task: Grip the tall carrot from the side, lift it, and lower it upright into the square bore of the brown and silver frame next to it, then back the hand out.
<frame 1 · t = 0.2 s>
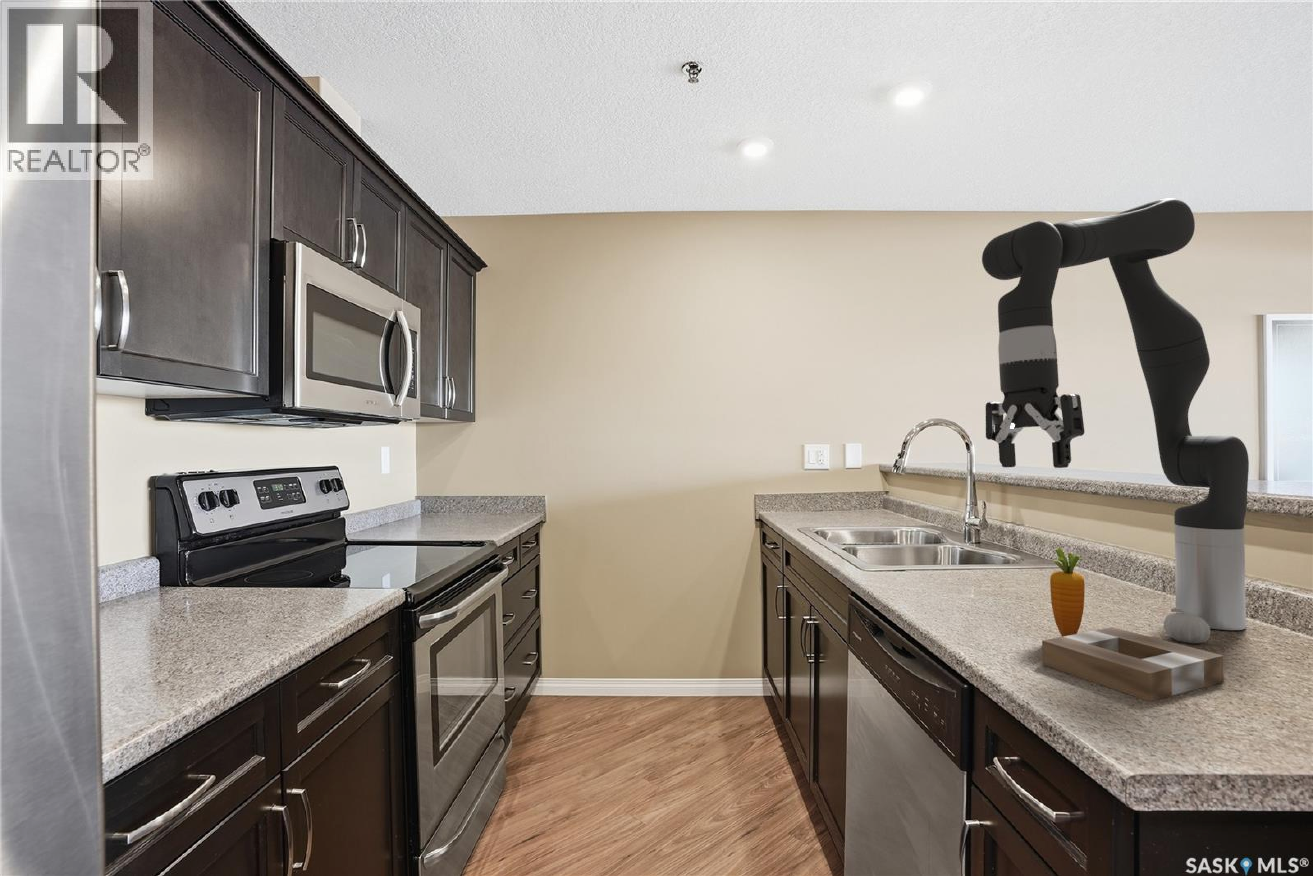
hand: (1033, 467, 92), 29 cm above the worktop, tool pointing down, fingers open, 8 cm apart
brown and silver frame: (1129, 672, 86), on the worktop
carrot: (1068, 644, 99), on the worktop
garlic: (1185, 642, 100), on the worktop
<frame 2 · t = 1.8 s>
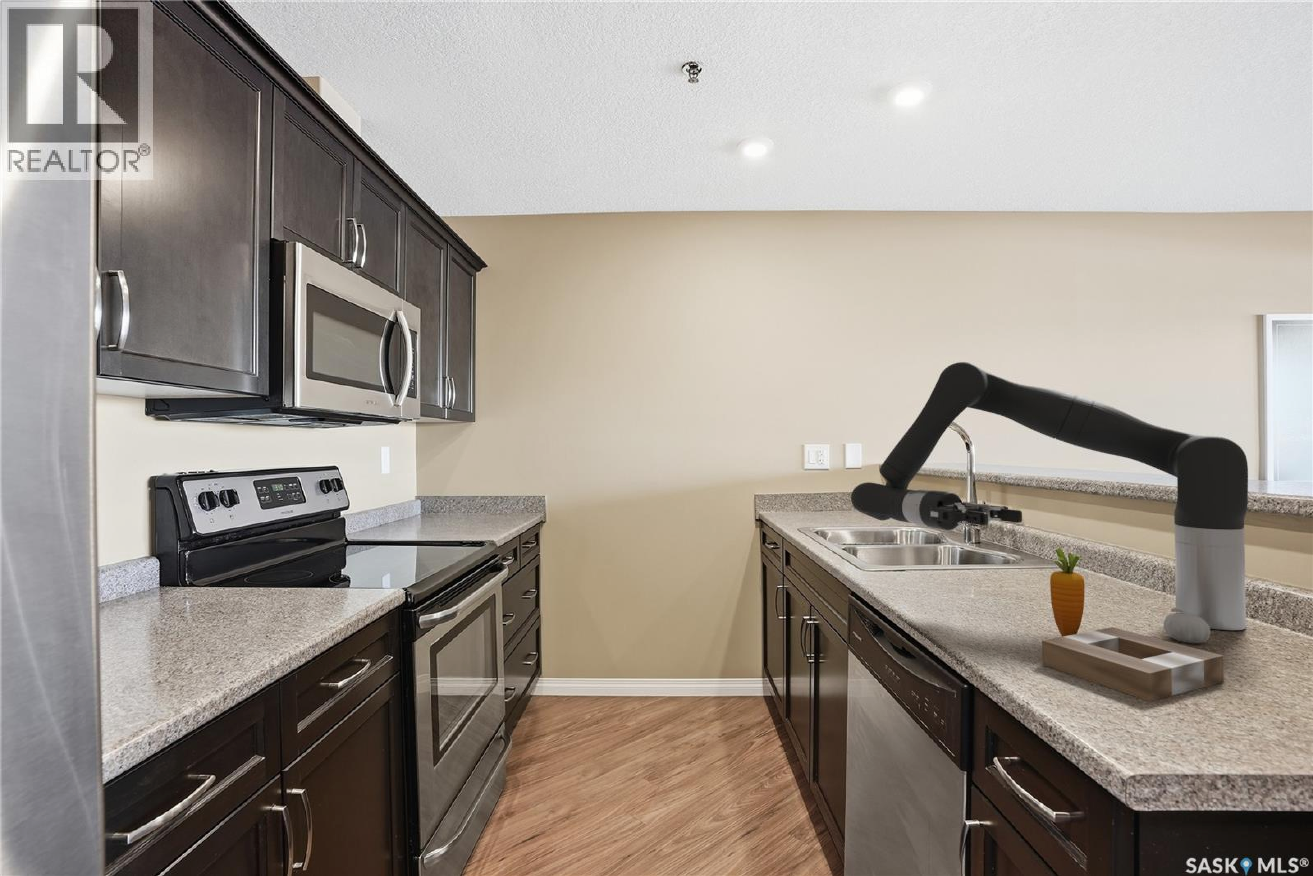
hand: (1003, 518, 110), 19 cm above the worktop, tool horizontal, fingers open, 8 cm apart
nothing on the worktop moved.
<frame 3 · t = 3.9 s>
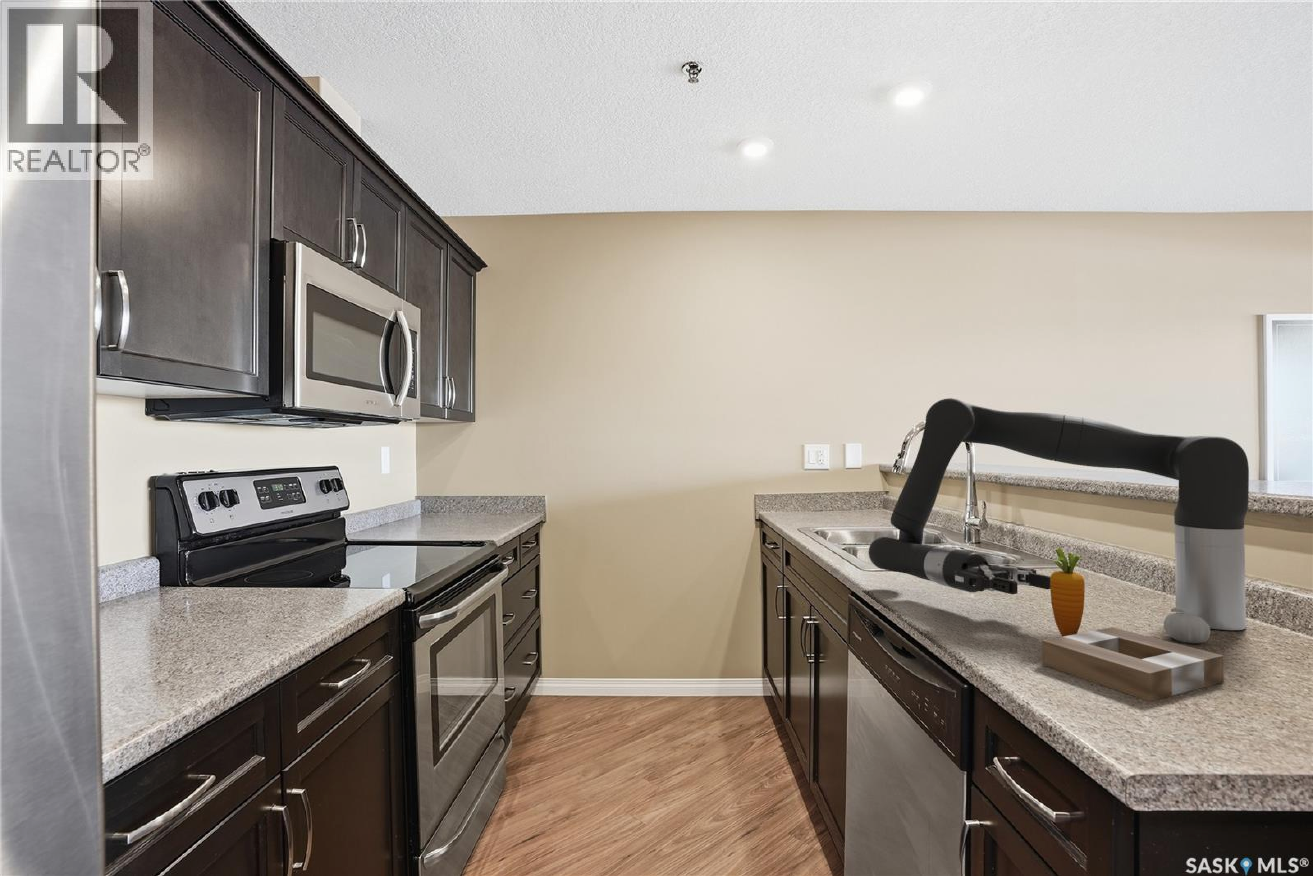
hand: (1033, 585, 105), 8 cm above the worktop, tool horizontal, fingers open, 8 cm apart
nothing on the worktop moved.
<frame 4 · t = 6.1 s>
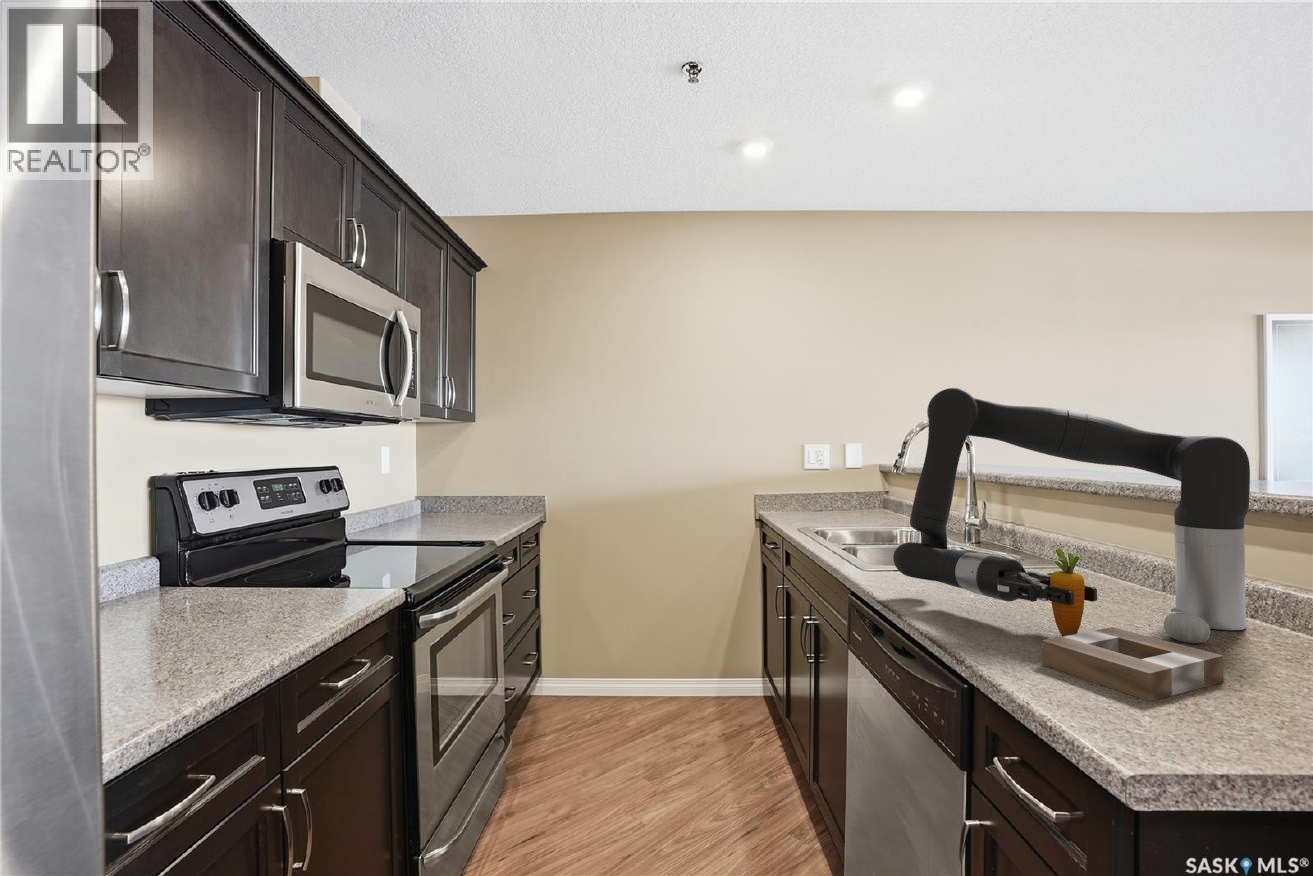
hand: (1083, 596, 97), 8 cm above the worktop, tool horizontal, fingers closed on carrot, 5 cm apart
carrot: (1068, 644, 99), on the worktop, touching gripper
everything else where it was.
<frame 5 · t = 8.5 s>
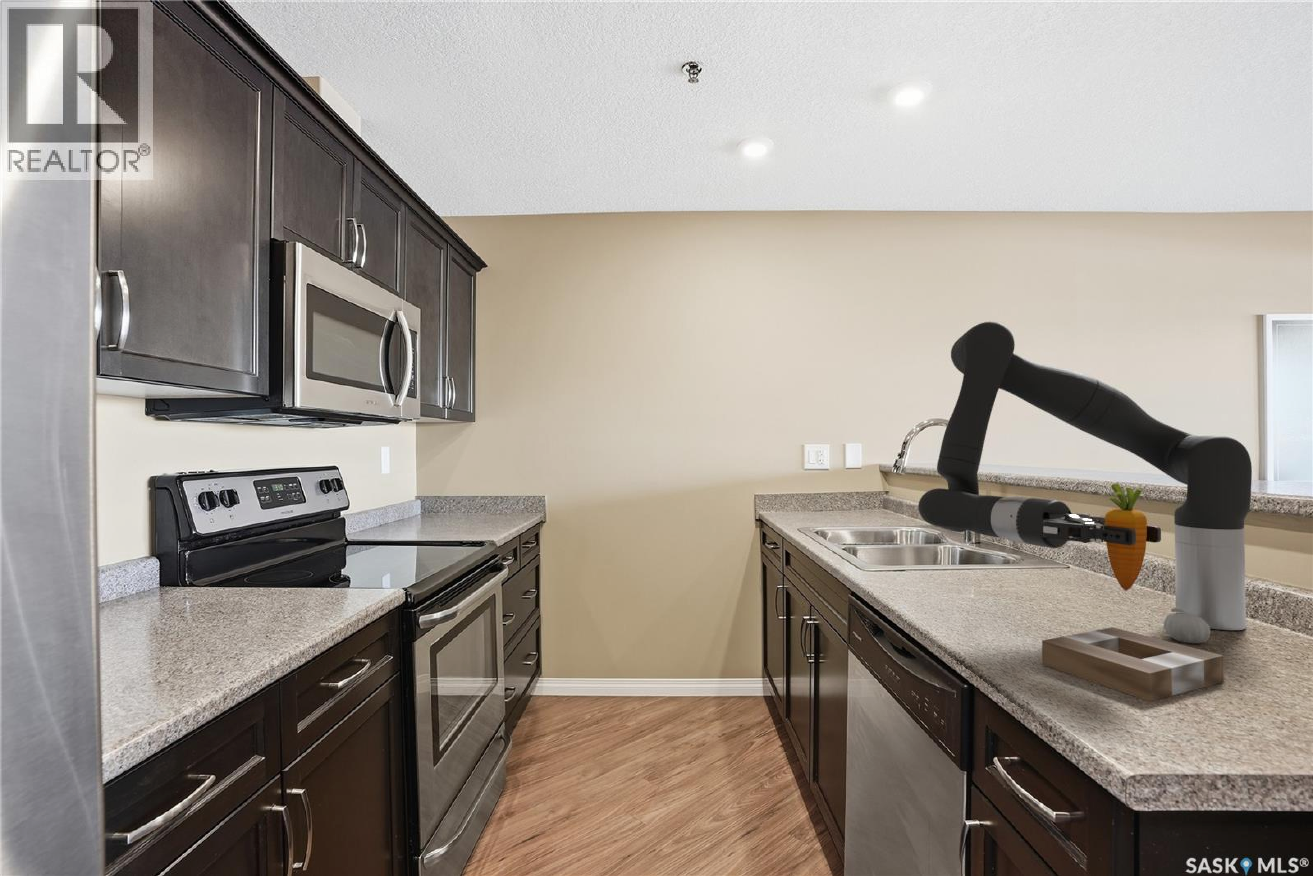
hand: (1146, 536, 84), 19 cm above the worktop, tool horizontal, fingers closed on carrot, 5 cm apart
carrot: (1125, 591, 87), point 11 cm above the worktop, touching gripper
everything else where it was.
when the fingers open (9 cm above the worktop, at t = 11.0 s): carrot drops 1 cm, resting in brown and silver frame.
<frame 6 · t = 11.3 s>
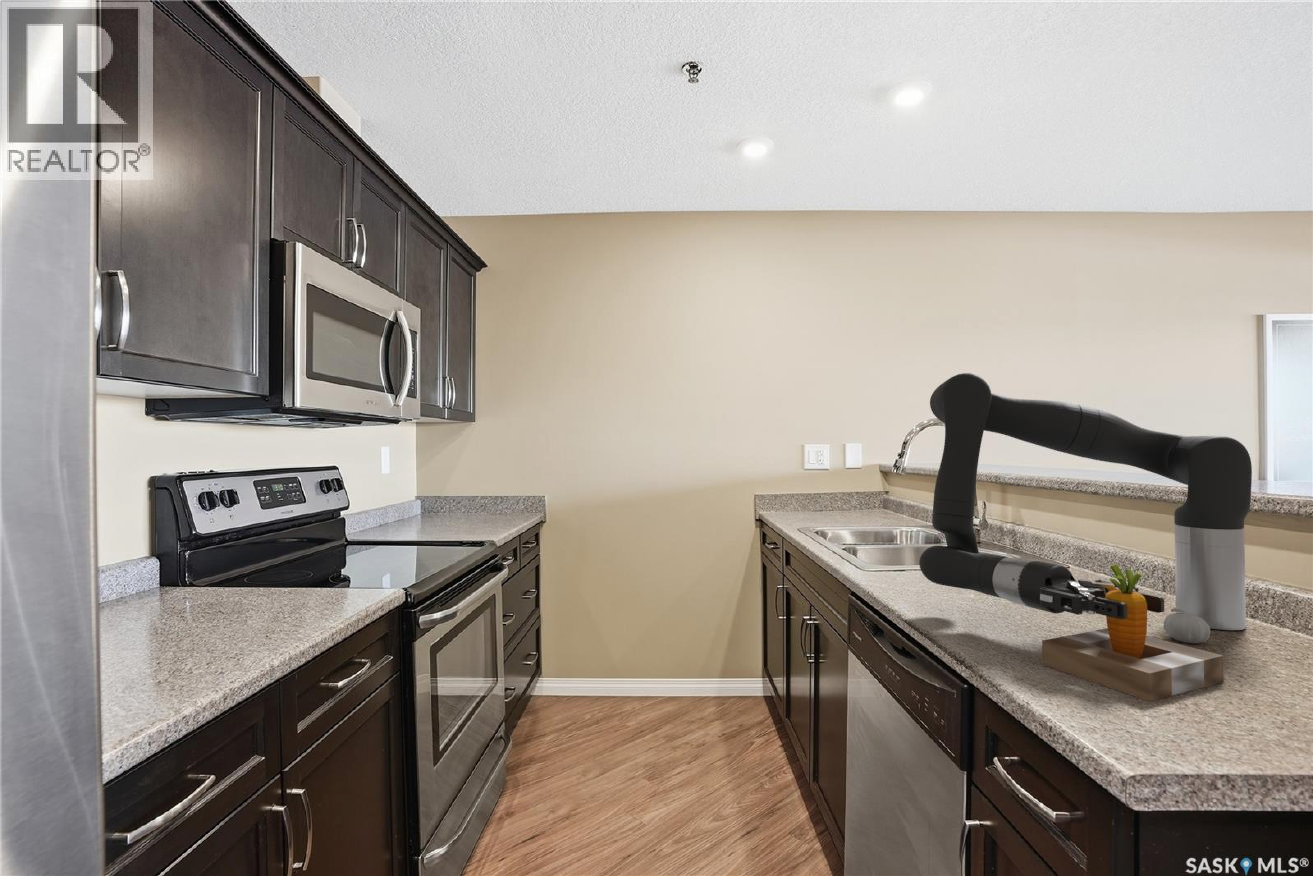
hand: (1144, 608, 84), 10 cm above the worktop, tool horizontal, fingers open, 7 cm apart
carrot: (1127, 674, 86), resting in brown and silver frame
everything else where it was.
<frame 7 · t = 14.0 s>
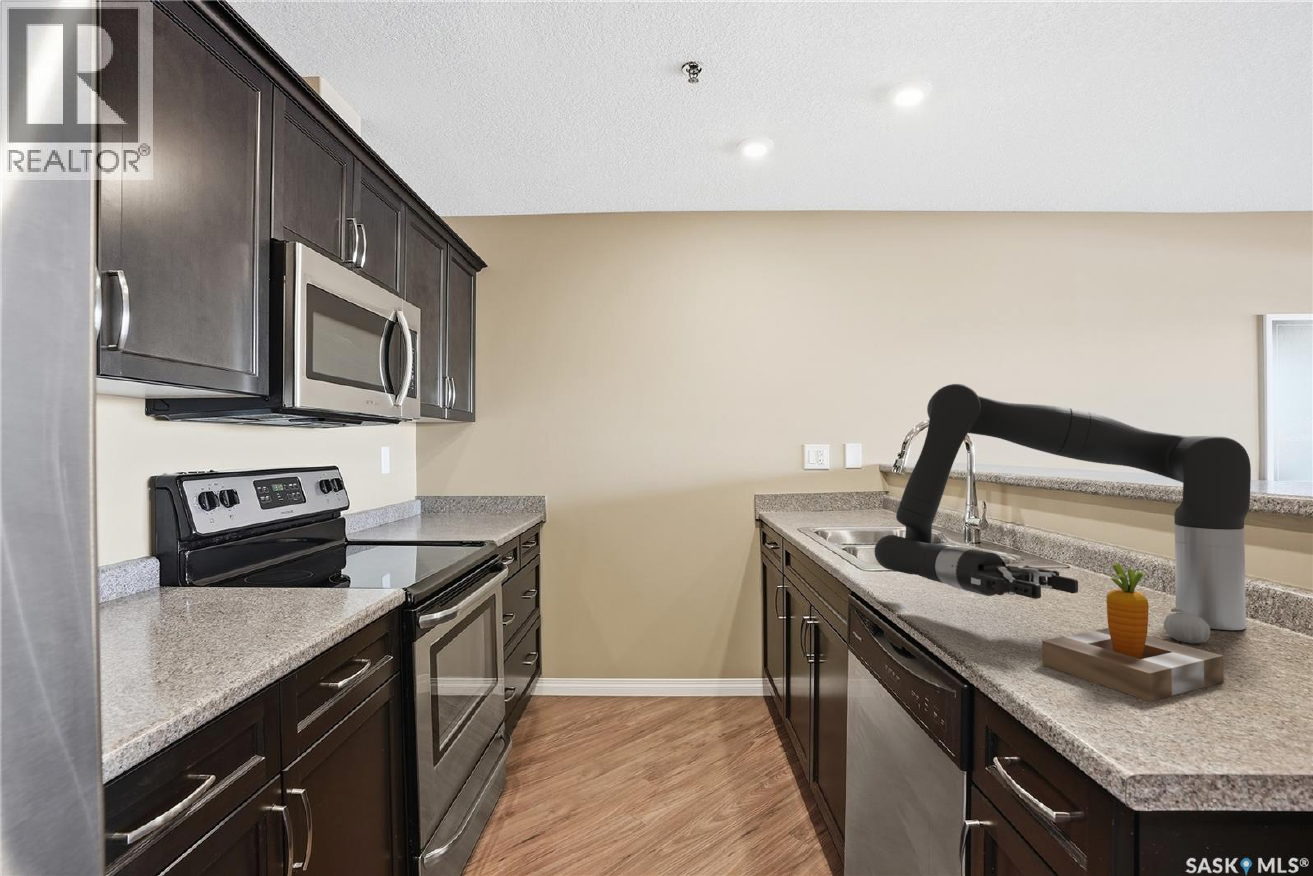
hand: (1058, 589, 96), 10 cm above the worktop, tool horizontal, fingers open, 8 cm apart
nothing on the worktop moved.
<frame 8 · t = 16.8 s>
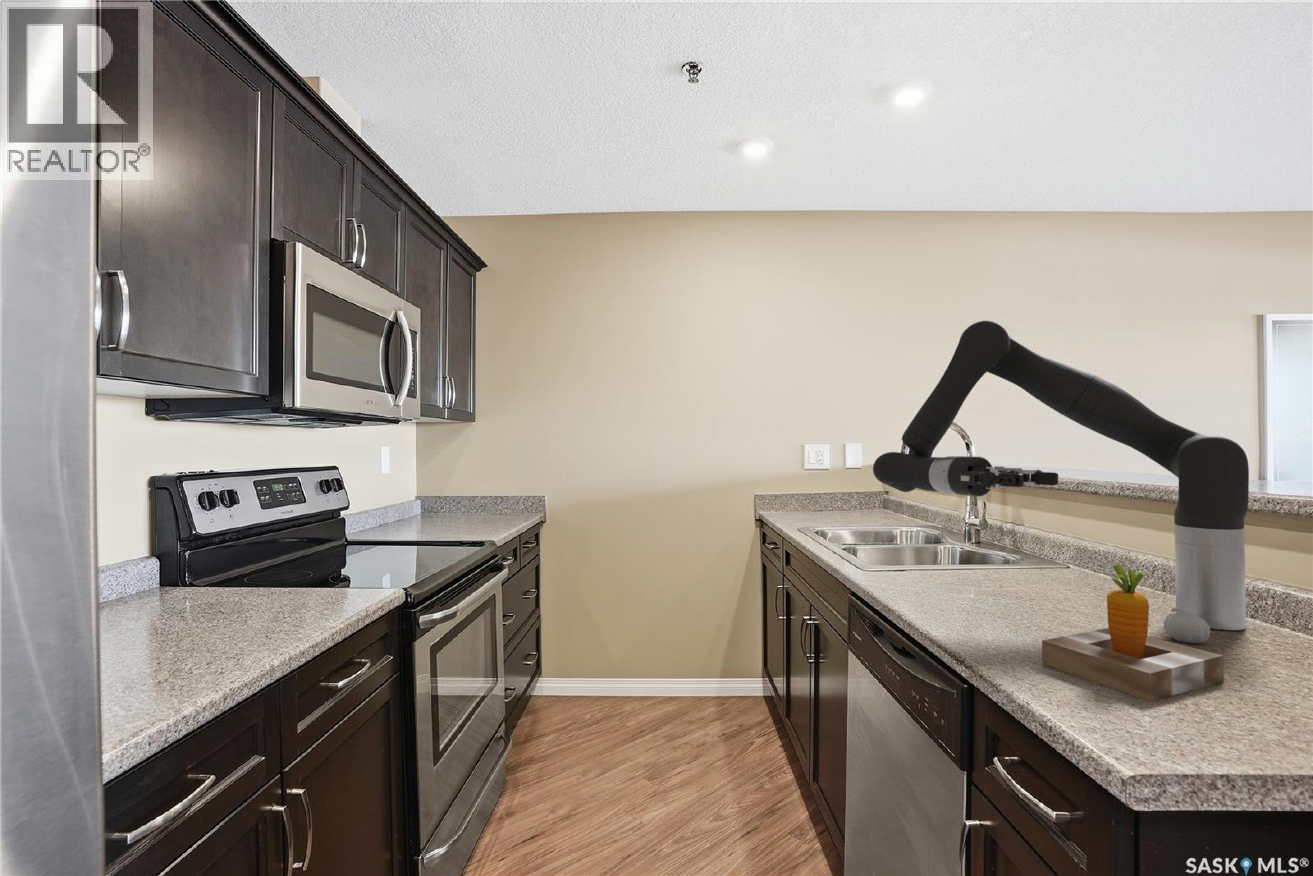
hand: (1039, 479, 105), 26 cm above the worktop, tool horizontal, fingers open, 8 cm apart
nothing on the worktop moved.
at the end: carrot 0.2 cm off-centre on the brown and silver frame, point 0.0 cm above the brown and silver frame's base; carrot tilted 1°; the gripper is holding nothing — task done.
